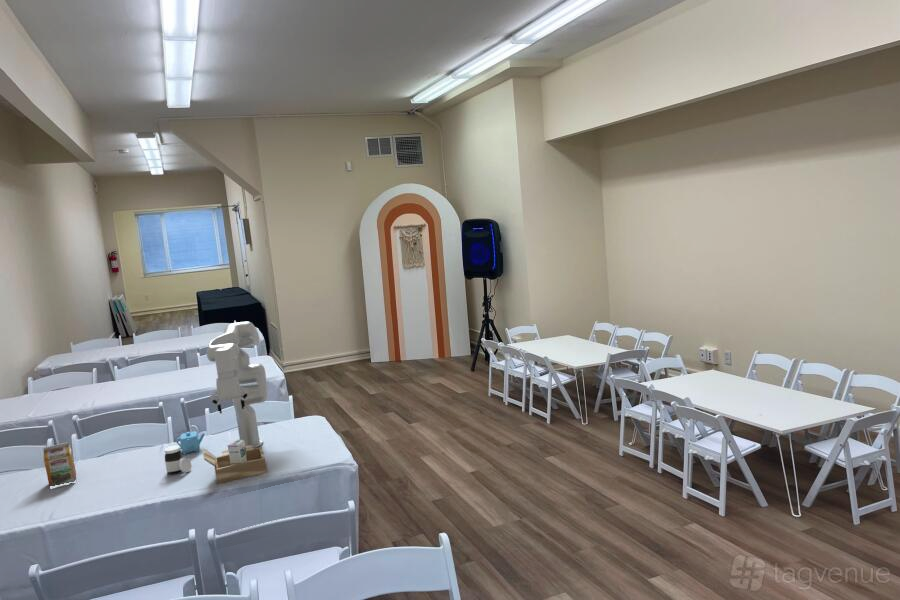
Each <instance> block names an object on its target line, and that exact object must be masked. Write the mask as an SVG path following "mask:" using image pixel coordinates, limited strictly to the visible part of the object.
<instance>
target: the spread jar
mask: <svg viewBox="0 0 900 600" xmlns="http://www.w3.org/2000/svg"><path fill="white" fill-rule="evenodd" d="M180 448H181V447H180V446H179V445H178V444H177V445H171V446H167V447H166V448H164V465H165V468H166V469H165V471H166V473H167V474H168V475H175V474H176V475H177V474H179V473H185V474H186V473H188V472H191V470H192V467H193V466H192V461H191V460H190V459H189V458H187V457H184V456H183V454H184V453H182V450H181V449H180Z"/></svg>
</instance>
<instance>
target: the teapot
mask: <svg viewBox="0 0 900 600" xmlns="http://www.w3.org/2000/svg"><path fill="white" fill-rule="evenodd" d="M198 435H199V434H198V433H197V431H196V430H194V431H187V432H184V433H181V434H180V436H179V437H177V438H176V440H175V442H176V444H177V445H178V446H180V450H181V451H182V454H184V455H188V454H189V453H192V452H194V453H199V450H200V447H201V445H200V444H202V443H201V442H202V441H203V439H204V437H205V435H206V434H205V432H203V433H201V435H200V436H198ZM179 440H180V442H179Z"/></svg>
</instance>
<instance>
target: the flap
mask: <svg viewBox="0 0 900 600" xmlns="http://www.w3.org/2000/svg"><path fill="white" fill-rule="evenodd" d="M216 457H217V456H215V455H214V454H213V453H211V452H210V451H208V450H206V449H205V448H203V460H204V461H206V462H207V463H208V464H210V465H212V466H213V467H214V468H215V467H217V465H216Z"/></svg>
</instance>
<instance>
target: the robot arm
mask: <svg viewBox="0 0 900 600" xmlns="http://www.w3.org/2000/svg"><path fill="white" fill-rule="evenodd" d="M258 344H260V334H259V332H258V330H257V328H256V326H255V325H254V324H253V322H250V321H240V322H233V323H229V324H227V325H226V326H225V328H224V330H223V333H222V334H221V335H219V336H217V337H216V338H214V339H212V340H211V341H210V342H209V344H208V345H207V348H206V358H207V360H208V361H209V362H213V363H214V362H215V367H216V375H217V378H216V382H215V383H216V384H215V385H216V391H215V392H214V393H212V394H211V395H210V396H209V397H208V398H209V400H210V401H211V402H212V403H213V404H215V405H216V406H217V411H218V412H219V414H222V413H223V412H222V405H221V402H222V401H228V400H231V401H232V405H233V408H234V411H235V416H236V417H235V418H236V422H237V431H238V438H239V440H244V441H245V446H249V445H252V447H253V449H255V448H259V447H262V445H263V443H264V440H263V439H261V438H260V435H259V430H258V429H259V428H258V422H257V414H256V410H255V409H254V407H253V406H252V405H253V404H260V403H265V402H266V401H267V399H268V388H267V386H268V385H267V374H266V369H265V367H264V365H263V364H262V363H254V364H253V363H252V364H251V363H250V355H249V353H247V352H246V351H245V350H244V349H243V348H247V347H255V346H257V345H258ZM255 383H256V384H255ZM248 384H251V385H248ZM241 385H243V386H241ZM216 396H217V398H218V399H217V400H216V399H215V397H216Z"/></svg>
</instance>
